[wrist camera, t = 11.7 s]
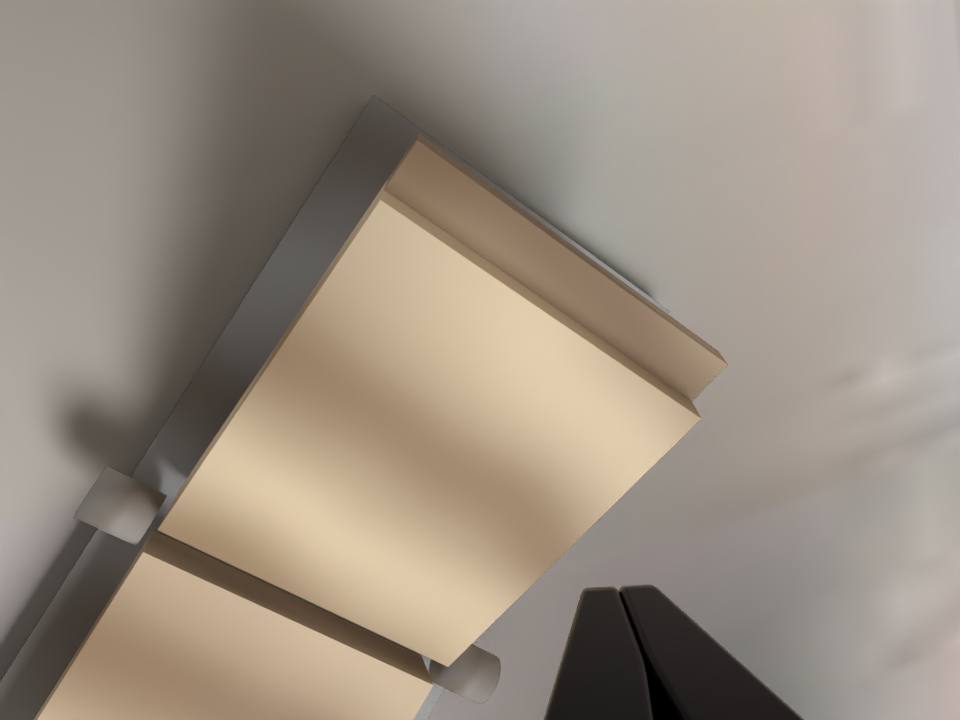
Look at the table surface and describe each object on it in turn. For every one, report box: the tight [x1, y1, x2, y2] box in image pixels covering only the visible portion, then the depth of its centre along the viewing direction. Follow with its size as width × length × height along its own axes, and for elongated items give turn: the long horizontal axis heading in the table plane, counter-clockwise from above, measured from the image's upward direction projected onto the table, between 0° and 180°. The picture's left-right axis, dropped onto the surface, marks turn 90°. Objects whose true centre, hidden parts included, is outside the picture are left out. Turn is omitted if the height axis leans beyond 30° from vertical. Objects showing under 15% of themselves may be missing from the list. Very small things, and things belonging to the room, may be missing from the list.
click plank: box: [158, 134, 728, 667], centre depth 17 cm, size 11×9×2 cm
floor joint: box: [0, 95, 670, 720], centre depth 20 cm, size 20×12×2 cm, turn 148°
